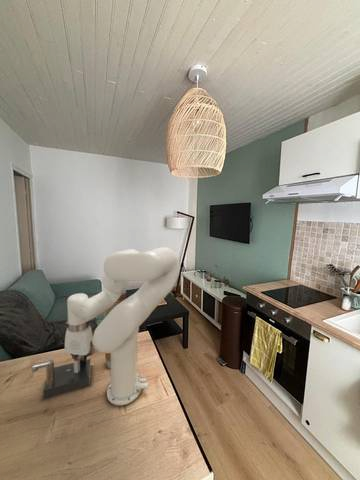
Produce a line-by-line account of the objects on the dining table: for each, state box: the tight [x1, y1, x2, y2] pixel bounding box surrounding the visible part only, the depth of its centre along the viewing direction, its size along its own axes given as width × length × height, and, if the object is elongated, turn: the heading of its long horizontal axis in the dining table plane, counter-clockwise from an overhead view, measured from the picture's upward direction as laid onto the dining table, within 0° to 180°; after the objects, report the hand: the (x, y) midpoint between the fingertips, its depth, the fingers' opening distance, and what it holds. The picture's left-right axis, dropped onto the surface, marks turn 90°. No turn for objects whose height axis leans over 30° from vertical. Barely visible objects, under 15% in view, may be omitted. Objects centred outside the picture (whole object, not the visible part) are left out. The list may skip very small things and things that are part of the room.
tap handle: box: [73, 355, 88, 373], centre depth 80 cm, size 6×2×5 cm, turn 173°
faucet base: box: [42, 358, 94, 400], centre depth 78 cm, size 17×11×4 cm, turn 113°
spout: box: [31, 359, 55, 387], centre depth 71 cm, size 7×2×9 cm, turn 113°
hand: (80, 366), depth 80 cm, fingers closed on tap handle
